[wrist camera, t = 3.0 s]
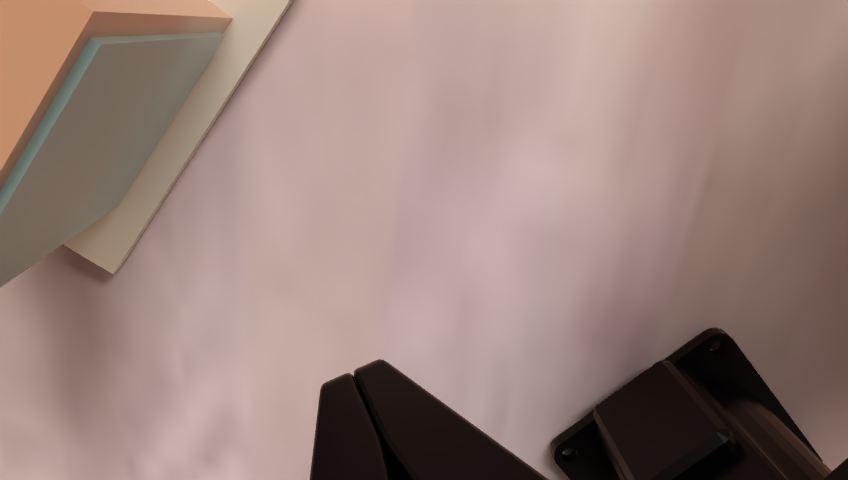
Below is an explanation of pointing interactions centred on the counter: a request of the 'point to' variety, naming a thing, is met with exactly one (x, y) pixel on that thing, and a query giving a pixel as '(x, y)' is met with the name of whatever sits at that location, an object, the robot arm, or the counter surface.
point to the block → (87, 107)
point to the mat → (182, 133)
